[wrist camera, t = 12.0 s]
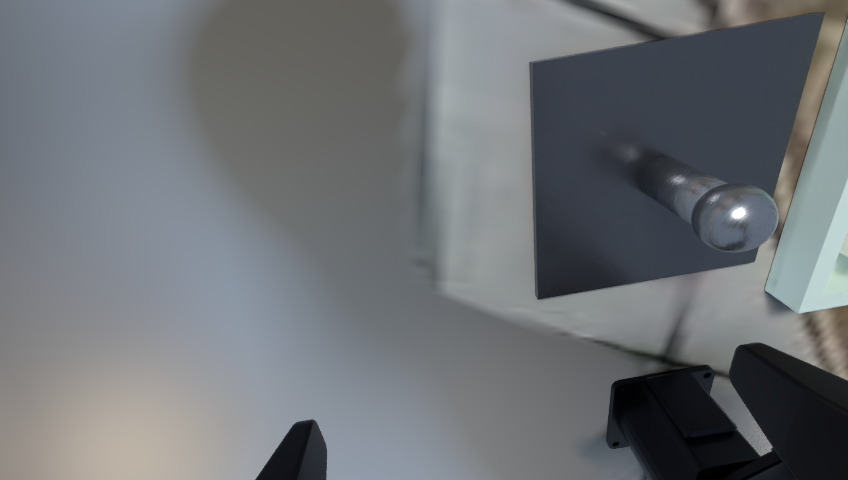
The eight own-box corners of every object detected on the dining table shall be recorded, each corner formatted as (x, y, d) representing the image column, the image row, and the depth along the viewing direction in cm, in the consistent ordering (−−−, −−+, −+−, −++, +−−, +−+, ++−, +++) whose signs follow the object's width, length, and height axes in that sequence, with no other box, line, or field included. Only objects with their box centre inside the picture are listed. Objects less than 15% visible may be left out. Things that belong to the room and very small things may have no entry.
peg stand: (748, 257, 22) (867, 334, 17) (535, 295, 22) (583, 383, 17) (815, 12, 17) (1027, 6, 11) (529, 62, 17) (599, 81, 11)
